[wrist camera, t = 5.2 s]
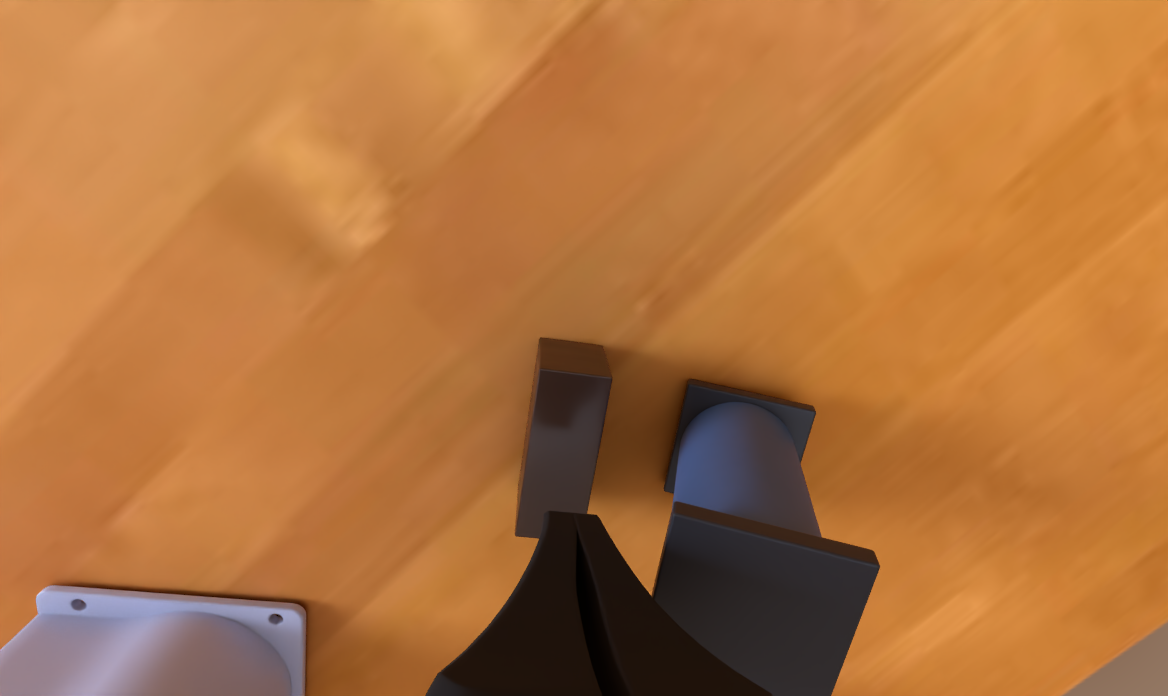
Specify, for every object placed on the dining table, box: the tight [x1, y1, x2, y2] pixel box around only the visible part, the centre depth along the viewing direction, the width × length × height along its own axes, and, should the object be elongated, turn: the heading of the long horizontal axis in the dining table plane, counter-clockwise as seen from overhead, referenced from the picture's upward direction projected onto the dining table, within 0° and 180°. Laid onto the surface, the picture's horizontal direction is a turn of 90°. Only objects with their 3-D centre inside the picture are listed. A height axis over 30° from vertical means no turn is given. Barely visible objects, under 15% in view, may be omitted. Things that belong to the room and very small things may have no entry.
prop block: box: [515, 338, 612, 538], centre depth 20 cm, size 2×6×3 cm, turn 171°
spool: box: [652, 379, 880, 696], centre depth 18 cm, size 10×4×9 cm
